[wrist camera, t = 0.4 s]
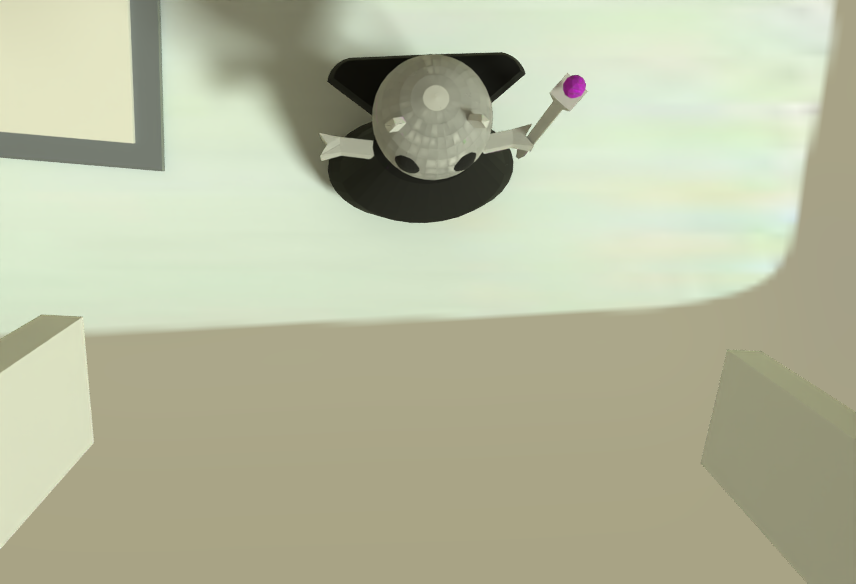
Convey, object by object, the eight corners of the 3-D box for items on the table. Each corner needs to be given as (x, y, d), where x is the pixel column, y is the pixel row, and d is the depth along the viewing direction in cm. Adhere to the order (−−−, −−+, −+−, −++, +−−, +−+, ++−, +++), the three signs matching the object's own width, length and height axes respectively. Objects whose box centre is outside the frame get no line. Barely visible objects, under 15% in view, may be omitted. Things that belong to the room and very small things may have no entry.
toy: (333, 234, 37) (290, 182, 22) (327, 124, 38) (280, 0, 23) (521, 224, 38) (603, 167, 23) (515, 116, 38) (591, -10, 23)
